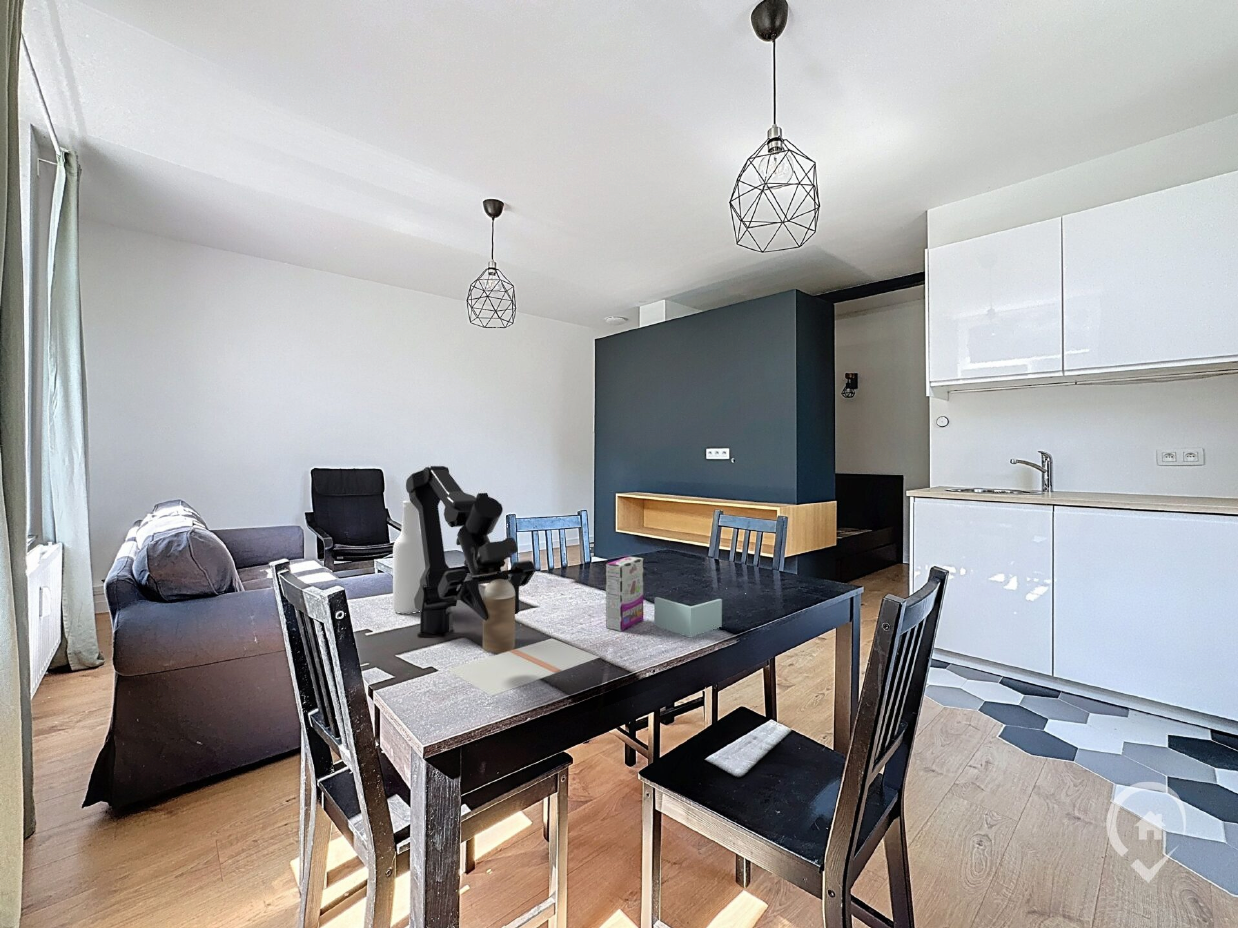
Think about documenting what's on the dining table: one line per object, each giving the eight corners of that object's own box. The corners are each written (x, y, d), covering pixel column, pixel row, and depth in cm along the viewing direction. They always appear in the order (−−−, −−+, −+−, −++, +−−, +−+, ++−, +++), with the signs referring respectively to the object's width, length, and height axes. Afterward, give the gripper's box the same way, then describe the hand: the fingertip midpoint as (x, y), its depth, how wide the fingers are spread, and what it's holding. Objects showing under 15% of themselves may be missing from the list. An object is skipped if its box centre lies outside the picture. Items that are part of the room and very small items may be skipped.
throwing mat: (491, 700, 94) (491, 694, 94) (446, 673, 106) (447, 668, 106) (599, 660, 113) (599, 656, 113) (551, 641, 124) (551, 637, 124)
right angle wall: (721, 629, 136) (721, 599, 136) (690, 639, 128) (690, 608, 128) (685, 617, 145) (685, 590, 145) (654, 627, 137) (654, 597, 137)
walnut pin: (478, 652, 101) (479, 582, 100) (487, 641, 107) (488, 575, 106) (510, 653, 100) (511, 583, 100) (517, 641, 106) (518, 576, 106)
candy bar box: (627, 617, 144) (628, 555, 143) (643, 620, 141) (644, 557, 141) (604, 628, 134) (605, 562, 134) (621, 632, 131) (622, 565, 131)
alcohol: (393, 616, 142) (393, 502, 142) (392, 607, 150) (393, 499, 150) (428, 612, 146) (428, 501, 145) (426, 604, 154) (426, 498, 153)
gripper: (443, 528, 100) (468, 600, 92) (532, 521, 112) (560, 584, 104) (428, 563, 106) (449, 634, 98) (513, 553, 118) (539, 615, 110)
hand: (502, 616), depth 102 cm, fingers closed on walnut pin, 6 cm apart
